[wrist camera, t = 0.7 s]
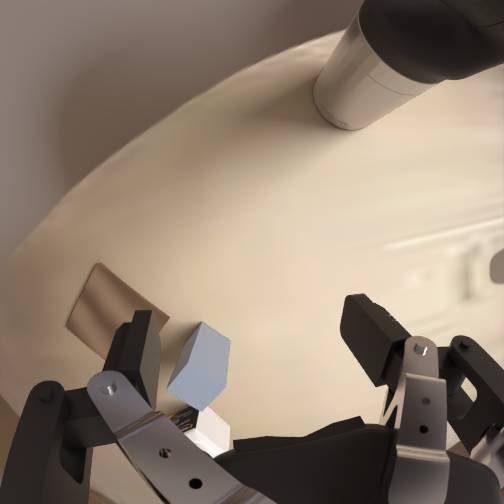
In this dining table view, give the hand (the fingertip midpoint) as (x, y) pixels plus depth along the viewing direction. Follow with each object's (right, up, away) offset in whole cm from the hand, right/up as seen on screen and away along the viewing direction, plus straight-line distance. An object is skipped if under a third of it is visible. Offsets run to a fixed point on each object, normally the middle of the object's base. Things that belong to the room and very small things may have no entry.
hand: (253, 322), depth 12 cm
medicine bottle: (-8, -24, +28) cm, 38 cm away
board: (-19, -7, +25) cm, 32 cm away
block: (-6, -9, +26) cm, 28 cm away
